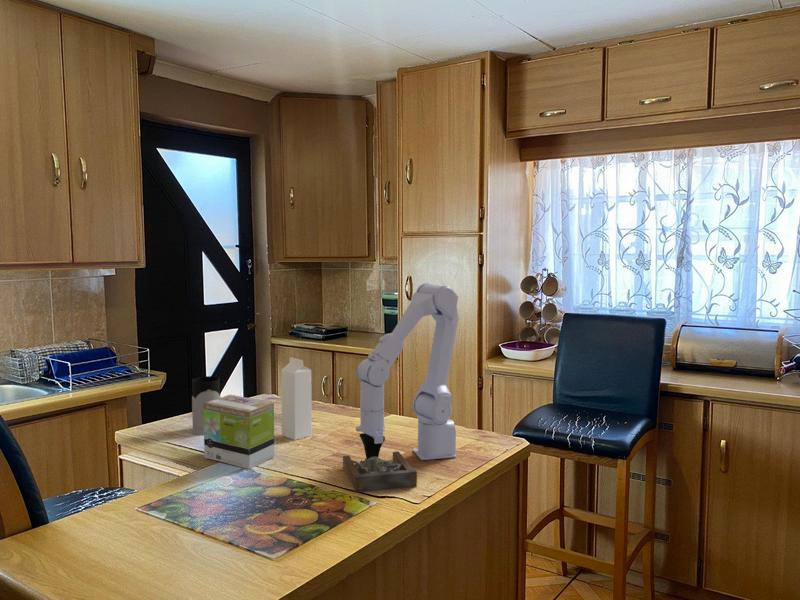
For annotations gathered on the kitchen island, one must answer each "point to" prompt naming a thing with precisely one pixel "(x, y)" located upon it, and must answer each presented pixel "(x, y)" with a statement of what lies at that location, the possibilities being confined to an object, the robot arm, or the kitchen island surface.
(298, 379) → the milk
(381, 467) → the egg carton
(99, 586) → the kitchen island surface
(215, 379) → the glass holder
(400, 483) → the dock
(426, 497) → the kitchen island surface
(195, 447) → the kitchen island surface
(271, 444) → the tea box
